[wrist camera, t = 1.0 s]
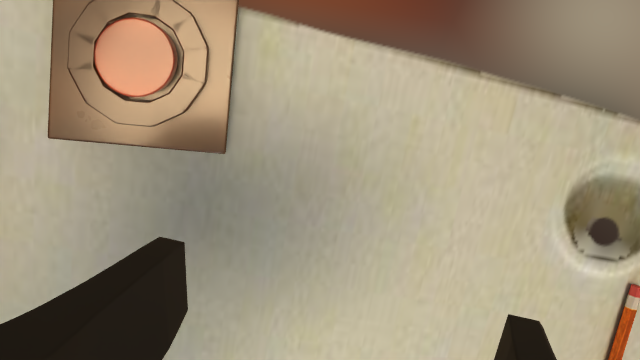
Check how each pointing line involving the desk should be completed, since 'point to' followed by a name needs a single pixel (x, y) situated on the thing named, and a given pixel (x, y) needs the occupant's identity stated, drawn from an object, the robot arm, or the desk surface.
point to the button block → (156, 109)
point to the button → (135, 57)
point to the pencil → (625, 323)
